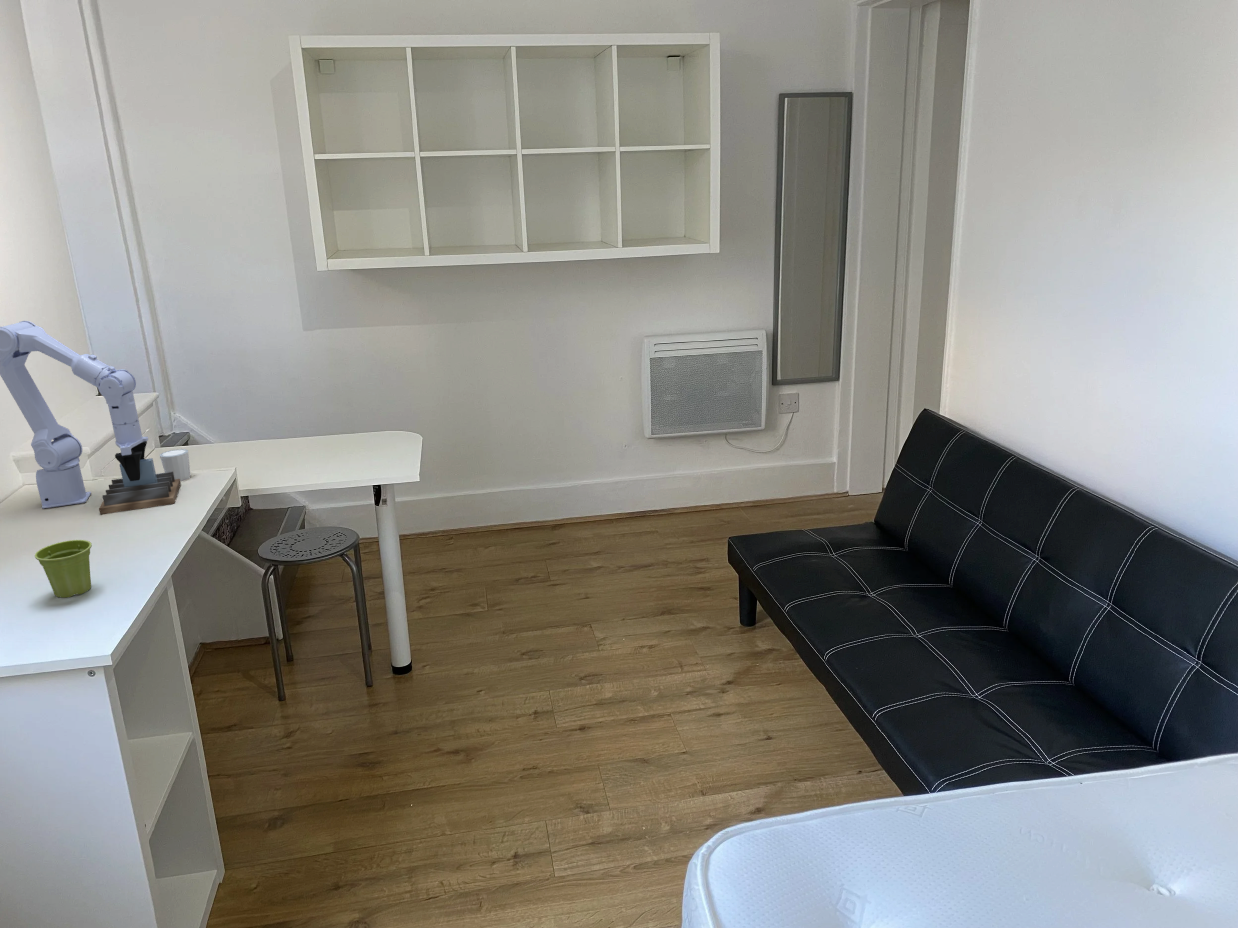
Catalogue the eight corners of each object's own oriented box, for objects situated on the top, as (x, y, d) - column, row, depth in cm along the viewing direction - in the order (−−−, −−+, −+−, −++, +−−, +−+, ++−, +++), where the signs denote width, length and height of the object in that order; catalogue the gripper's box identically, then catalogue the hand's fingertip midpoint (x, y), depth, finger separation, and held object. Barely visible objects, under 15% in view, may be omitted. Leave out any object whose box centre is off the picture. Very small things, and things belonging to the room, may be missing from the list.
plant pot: (111, 580, 182) (102, 539, 179) (80, 602, 173) (70, 559, 171) (67, 580, 183) (56, 539, 180) (33, 602, 174) (22, 559, 172)
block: (126, 496, 227) (119, 465, 225) (127, 493, 229) (121, 462, 227) (157, 491, 229) (151, 460, 227) (159, 489, 231) (152, 458, 229)
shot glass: (198, 476, 245) (193, 450, 243) (175, 483, 240) (169, 457, 238) (183, 472, 249) (177, 447, 247) (159, 480, 243) (153, 454, 241)
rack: (100, 514, 220) (96, 498, 219) (111, 493, 234) (108, 478, 233) (174, 503, 225) (171, 488, 223) (180, 484, 239) (177, 469, 238)
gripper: (139, 426, 218) (151, 482, 222) (147, 412, 231) (158, 465, 235) (106, 430, 216) (118, 486, 220) (116, 416, 229) (128, 469, 233)
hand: (137, 475), depth 228 cm, fingers open, 7 cm apart
